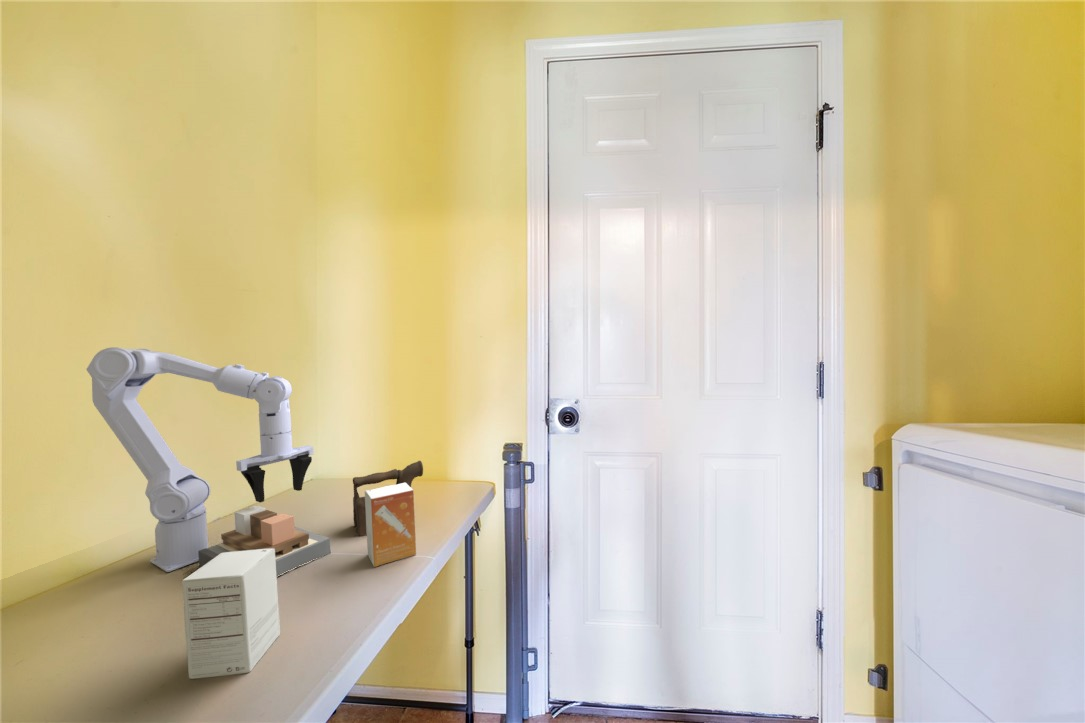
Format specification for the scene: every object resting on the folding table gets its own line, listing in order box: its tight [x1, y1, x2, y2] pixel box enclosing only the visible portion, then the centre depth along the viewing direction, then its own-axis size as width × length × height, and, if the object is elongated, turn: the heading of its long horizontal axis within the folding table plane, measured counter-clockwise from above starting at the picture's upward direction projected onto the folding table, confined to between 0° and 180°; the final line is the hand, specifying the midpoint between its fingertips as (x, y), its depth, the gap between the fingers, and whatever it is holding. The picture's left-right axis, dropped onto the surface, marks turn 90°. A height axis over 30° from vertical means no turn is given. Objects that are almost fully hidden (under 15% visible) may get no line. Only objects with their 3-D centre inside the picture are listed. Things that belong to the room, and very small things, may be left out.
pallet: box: [220, 509, 309, 555], centre depth 80 cm, size 17×8×6 cm, turn 59°
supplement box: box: [181, 549, 281, 680], centre depth 54 cm, size 7×7×13 cm
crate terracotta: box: [261, 513, 296, 546], centre depth 78 cm, size 4×4×4 cm
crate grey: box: [234, 504, 267, 535], centre depth 83 cm, size 4×4×4 cm
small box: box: [364, 483, 417, 568], centre depth 80 cm, size 8×6×13 cm
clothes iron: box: [352, 460, 424, 537], centre depth 96 cm, size 8×16×13 cm, turn 121°
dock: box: [198, 526, 331, 576], centre depth 80 cm, size 19×15×3 cm
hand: (279, 495), depth 88 cm, fingers open, 7 cm apart
